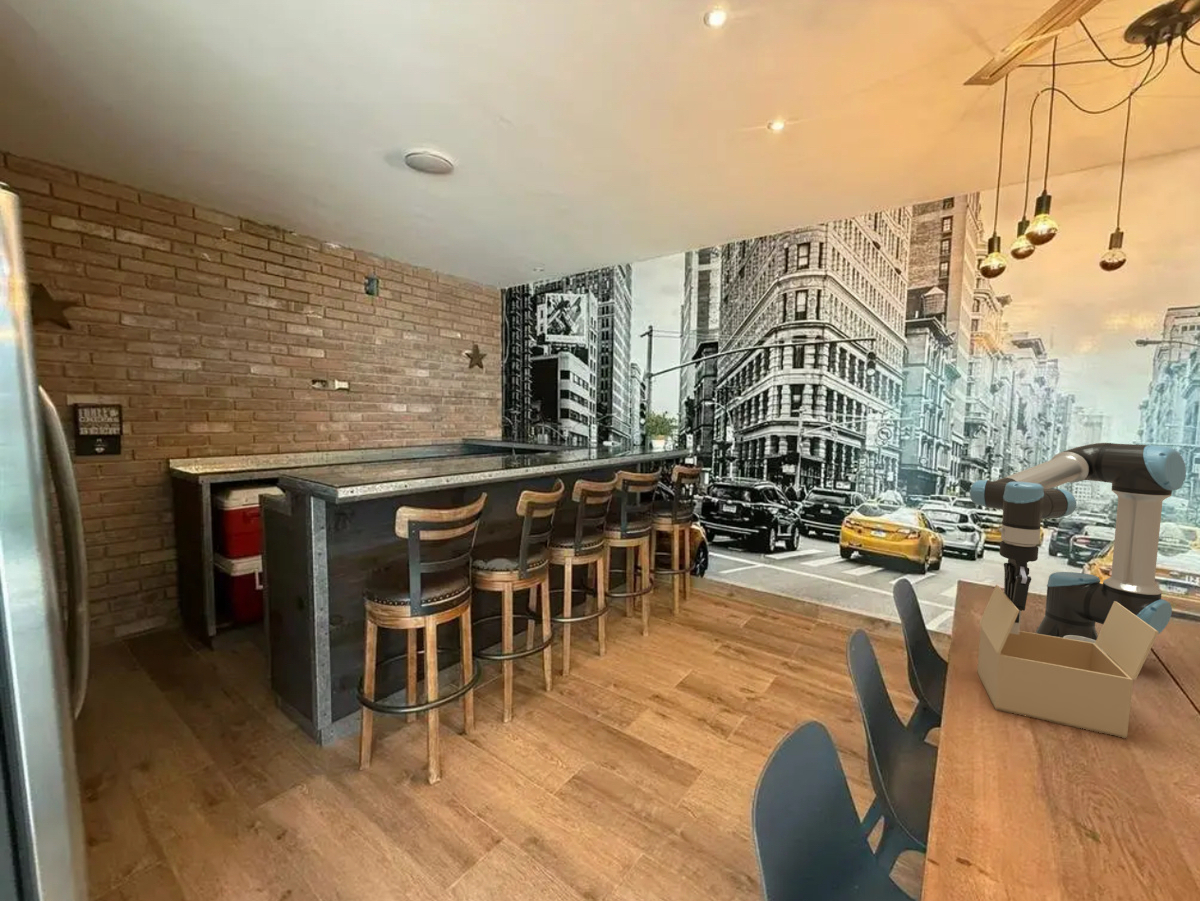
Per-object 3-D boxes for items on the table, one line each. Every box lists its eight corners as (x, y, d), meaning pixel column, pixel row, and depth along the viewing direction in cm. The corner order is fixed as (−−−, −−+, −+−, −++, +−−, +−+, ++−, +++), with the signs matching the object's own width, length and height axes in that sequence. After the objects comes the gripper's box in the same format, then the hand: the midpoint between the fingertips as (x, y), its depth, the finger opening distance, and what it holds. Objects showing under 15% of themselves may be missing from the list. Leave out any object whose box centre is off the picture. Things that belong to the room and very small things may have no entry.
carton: (1089, 694, 132) (1094, 643, 131) (1126, 738, 114) (1133, 679, 113) (977, 672, 143) (980, 624, 141) (995, 709, 125) (999, 655, 123)
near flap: (1095, 642, 131) (1097, 643, 130) (1132, 678, 113) (1135, 679, 113) (1114, 600, 128) (1116, 601, 128) (1155, 631, 111) (1158, 632, 111)
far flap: (999, 654, 124) (997, 653, 124) (981, 623, 141) (979, 623, 141) (1019, 610, 121) (1017, 609, 121) (998, 585, 139) (996, 584, 139)
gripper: (994, 535, 136) (987, 620, 138) (1008, 547, 124) (1000, 639, 126) (1029, 539, 132) (1022, 625, 134) (1047, 551, 121) (1039, 646, 122)
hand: (1011, 632), depth 130 cm, fingers closed
